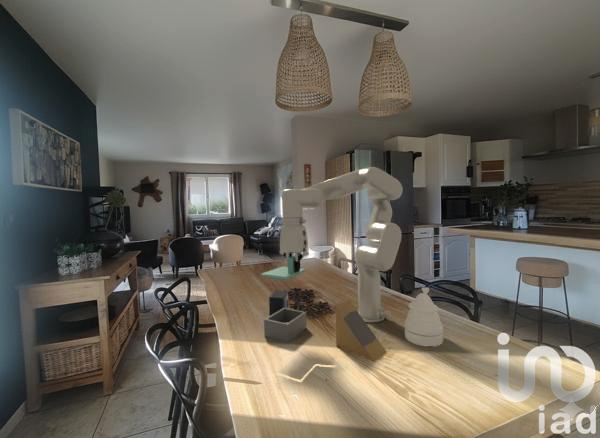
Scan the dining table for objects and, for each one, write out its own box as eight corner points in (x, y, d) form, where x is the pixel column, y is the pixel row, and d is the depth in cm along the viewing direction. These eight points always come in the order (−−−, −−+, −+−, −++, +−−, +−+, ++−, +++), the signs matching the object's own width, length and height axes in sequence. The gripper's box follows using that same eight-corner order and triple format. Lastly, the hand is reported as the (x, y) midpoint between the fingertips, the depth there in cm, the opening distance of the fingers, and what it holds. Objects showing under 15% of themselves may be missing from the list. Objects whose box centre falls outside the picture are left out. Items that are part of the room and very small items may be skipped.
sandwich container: (375, 362, 89) (374, 315, 88) (335, 346, 100) (334, 304, 99) (387, 351, 95) (387, 307, 95) (349, 337, 106) (348, 298, 105)
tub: (306, 329, 114) (306, 312, 113) (288, 343, 102) (287, 324, 102) (284, 324, 119) (283, 307, 119) (264, 337, 107) (264, 319, 107)
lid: (306, 273, 113) (305, 253, 112) (286, 282, 100) (285, 260, 100) (282, 270, 118) (282, 252, 118) (261, 278, 106) (260, 257, 106)
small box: (283, 321, 122) (282, 297, 122) (268, 320, 123) (268, 296, 123) (289, 312, 132) (288, 290, 132) (275, 311, 134) (275, 289, 133)
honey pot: (413, 327, 113) (413, 282, 112) (448, 337, 104) (448, 289, 103) (398, 338, 104) (398, 290, 103) (435, 350, 95) (434, 297, 94)
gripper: (316, 221, 105) (317, 271, 106) (280, 221, 113) (282, 267, 114) (306, 223, 99) (307, 275, 100) (269, 222, 107) (271, 271, 108)
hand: (294, 270), depth 107 cm, fingers closed on lid
